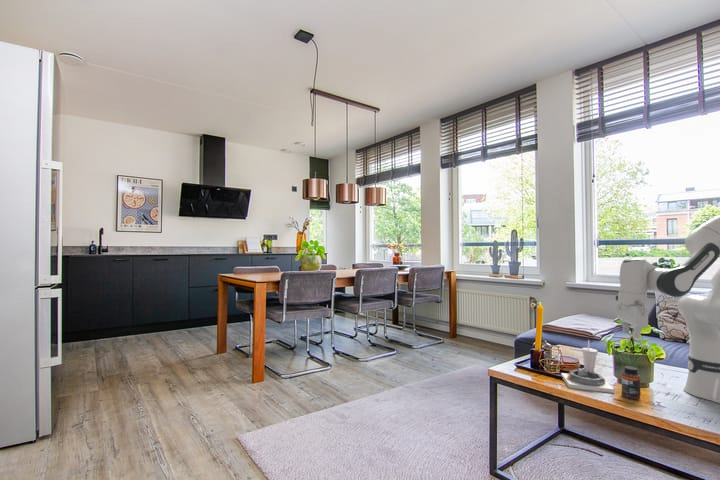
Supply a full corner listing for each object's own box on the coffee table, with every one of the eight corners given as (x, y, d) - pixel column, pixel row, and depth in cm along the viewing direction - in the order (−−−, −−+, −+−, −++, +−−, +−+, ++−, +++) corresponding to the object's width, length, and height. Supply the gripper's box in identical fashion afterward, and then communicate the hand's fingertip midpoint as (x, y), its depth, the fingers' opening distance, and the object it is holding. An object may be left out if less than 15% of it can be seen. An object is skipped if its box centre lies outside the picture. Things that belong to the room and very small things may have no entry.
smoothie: (579, 367, 179) (579, 338, 179) (593, 368, 178) (593, 339, 178) (585, 371, 173) (585, 341, 173) (600, 372, 172) (600, 342, 172)
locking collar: (599, 377, 161) (599, 372, 161) (609, 387, 150) (609, 381, 150) (564, 374, 165) (564, 368, 165) (571, 383, 153) (571, 377, 153)
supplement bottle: (634, 394, 148) (634, 365, 148) (643, 400, 142) (644, 370, 142) (618, 393, 148) (618, 364, 148) (627, 399, 142) (627, 369, 142)
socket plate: (601, 380, 162) (602, 377, 162) (614, 393, 148) (614, 389, 148) (561, 376, 166) (561, 372, 166) (569, 387, 153) (569, 384, 153)
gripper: (654, 304, 135) (652, 342, 135) (631, 296, 154) (629, 330, 154) (634, 302, 136) (632, 340, 136) (613, 295, 156) (612, 328, 156)
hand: (630, 334), depth 145 cm, fingers open, 8 cm apart
